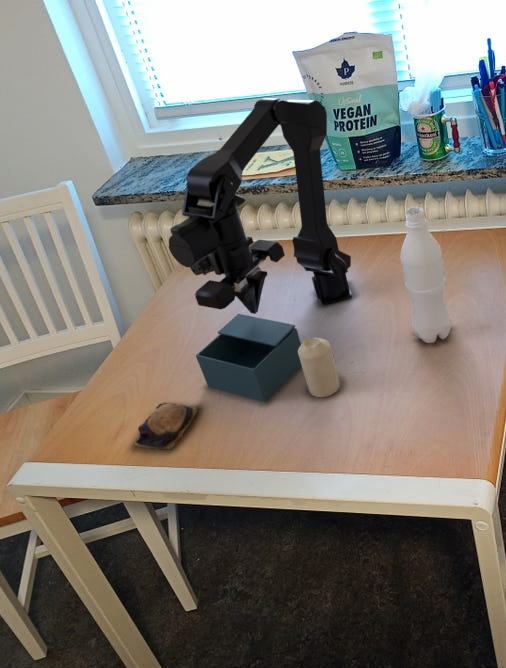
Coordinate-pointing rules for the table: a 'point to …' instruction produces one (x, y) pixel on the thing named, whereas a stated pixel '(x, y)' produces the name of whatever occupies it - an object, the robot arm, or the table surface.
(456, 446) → the table surface
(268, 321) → the flap
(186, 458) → the table surface
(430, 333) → the water bottle
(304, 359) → the candle
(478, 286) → the table surface
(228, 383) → the carton
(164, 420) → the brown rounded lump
